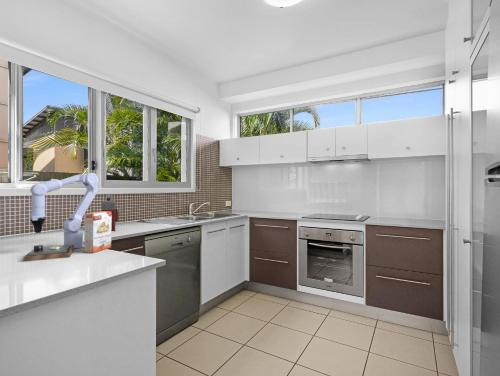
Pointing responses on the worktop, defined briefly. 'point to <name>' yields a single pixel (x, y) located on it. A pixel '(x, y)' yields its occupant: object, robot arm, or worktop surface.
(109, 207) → the toy vending machine
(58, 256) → the base
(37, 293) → the worktop surface
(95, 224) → the cracker box
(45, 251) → the plate
